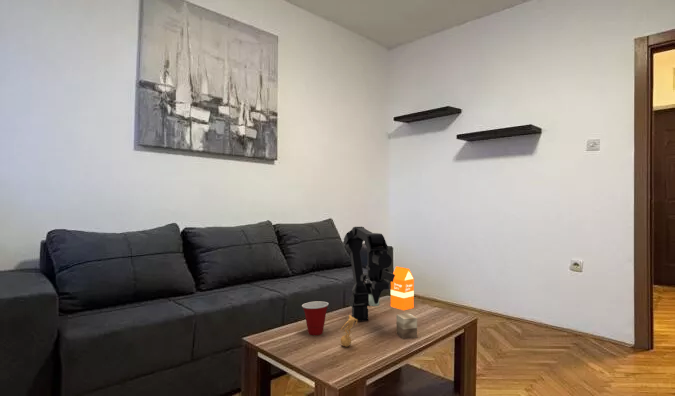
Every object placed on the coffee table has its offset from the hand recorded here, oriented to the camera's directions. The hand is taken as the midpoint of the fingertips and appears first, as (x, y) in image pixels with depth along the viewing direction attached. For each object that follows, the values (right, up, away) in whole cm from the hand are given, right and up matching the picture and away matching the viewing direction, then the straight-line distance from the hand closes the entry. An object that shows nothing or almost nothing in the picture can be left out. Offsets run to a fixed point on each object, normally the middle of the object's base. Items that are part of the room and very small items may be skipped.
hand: (374, 302), depth 158 cm
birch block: (+13, -8, -5) cm, 16 cm away
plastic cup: (-24, -12, -3) cm, 27 cm away
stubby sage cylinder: (0, -1, 0) cm, 1 cm away
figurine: (-11, -12, -17) cm, 24 cm away
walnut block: (+12, -12, -5) cm, 18 cm away
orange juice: (+18, -12, +36) cm, 42 cm away
